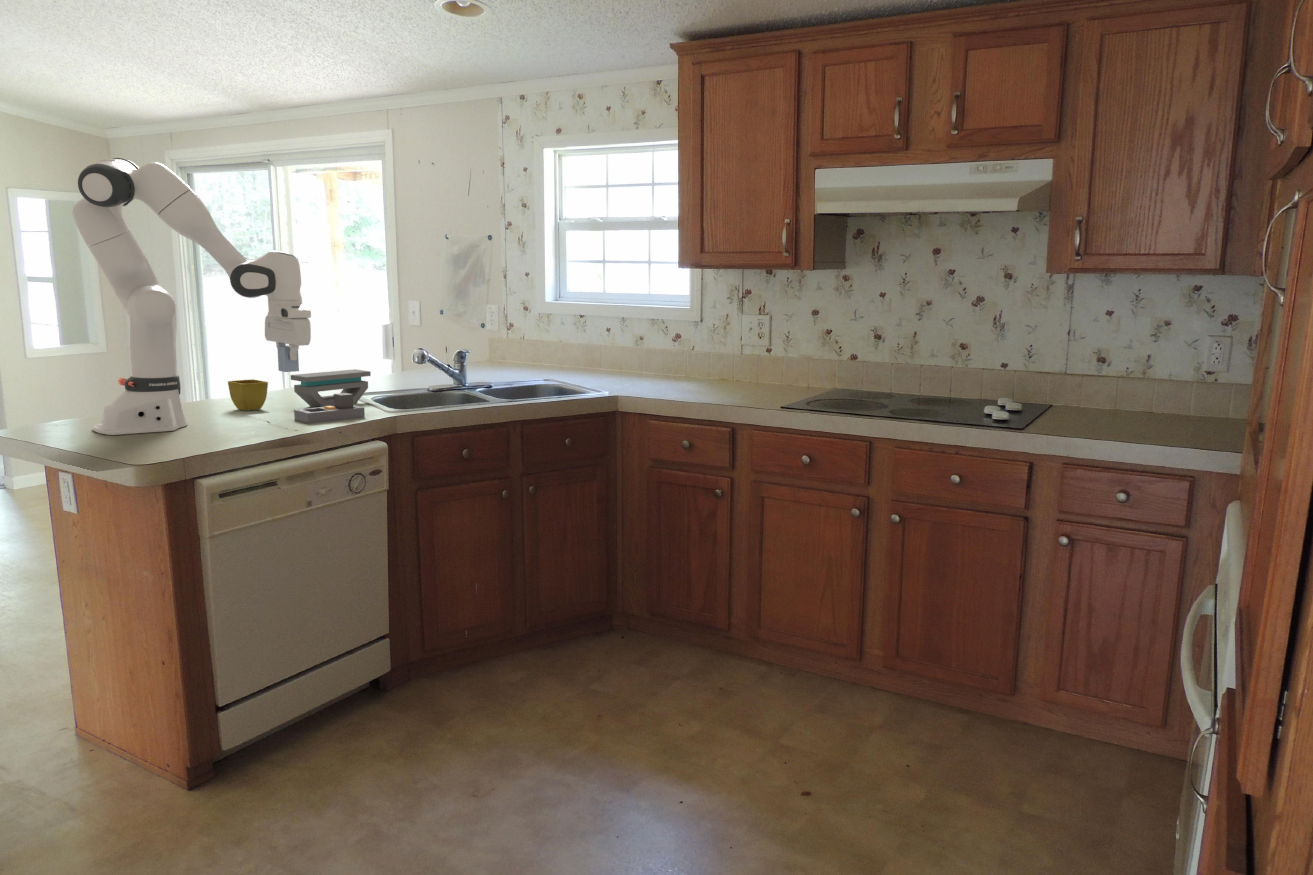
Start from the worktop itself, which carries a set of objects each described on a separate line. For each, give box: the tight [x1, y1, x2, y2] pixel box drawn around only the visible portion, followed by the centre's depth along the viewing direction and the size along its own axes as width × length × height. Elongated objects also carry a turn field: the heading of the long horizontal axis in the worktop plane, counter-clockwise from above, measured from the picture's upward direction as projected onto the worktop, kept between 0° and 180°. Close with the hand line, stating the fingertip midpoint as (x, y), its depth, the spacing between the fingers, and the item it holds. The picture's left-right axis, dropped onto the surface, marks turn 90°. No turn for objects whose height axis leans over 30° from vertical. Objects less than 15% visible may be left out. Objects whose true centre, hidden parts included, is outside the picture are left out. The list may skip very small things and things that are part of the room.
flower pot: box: [227, 378, 269, 412], centre depth 280 cm, size 9×9×9 cm
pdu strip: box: [293, 404, 366, 425], centre depth 264 cm, size 18×8×5 cm, turn 139°
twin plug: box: [333, 392, 353, 409], centre depth 267 cm, size 4×4×7 cm
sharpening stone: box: [290, 368, 372, 408], centre depth 293 cm, size 25×8×11 cm, turn 147°
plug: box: [276, 345, 300, 373], centre depth 252 cm, size 4×4×7 cm
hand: (288, 359), depth 252 cm, fingers closed on plug, 4 cm apart
